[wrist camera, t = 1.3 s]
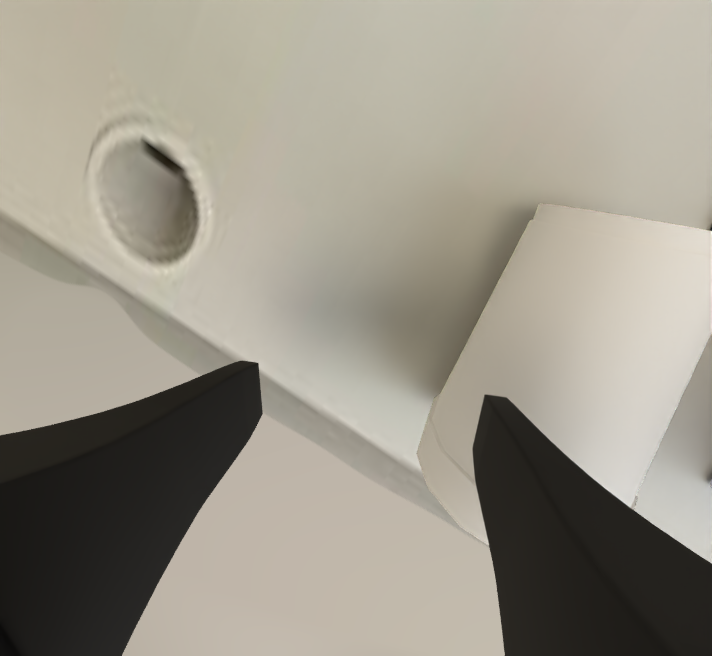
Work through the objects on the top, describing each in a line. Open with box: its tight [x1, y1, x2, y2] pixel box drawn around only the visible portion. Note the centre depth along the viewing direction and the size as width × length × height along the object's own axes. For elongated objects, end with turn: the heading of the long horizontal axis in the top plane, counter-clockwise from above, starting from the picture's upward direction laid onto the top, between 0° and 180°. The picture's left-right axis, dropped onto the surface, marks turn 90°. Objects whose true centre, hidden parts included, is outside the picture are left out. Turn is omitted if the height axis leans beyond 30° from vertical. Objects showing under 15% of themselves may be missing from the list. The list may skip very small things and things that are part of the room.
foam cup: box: [417, 203, 712, 546], centre depth 15 cm, size 10×9×13 cm
